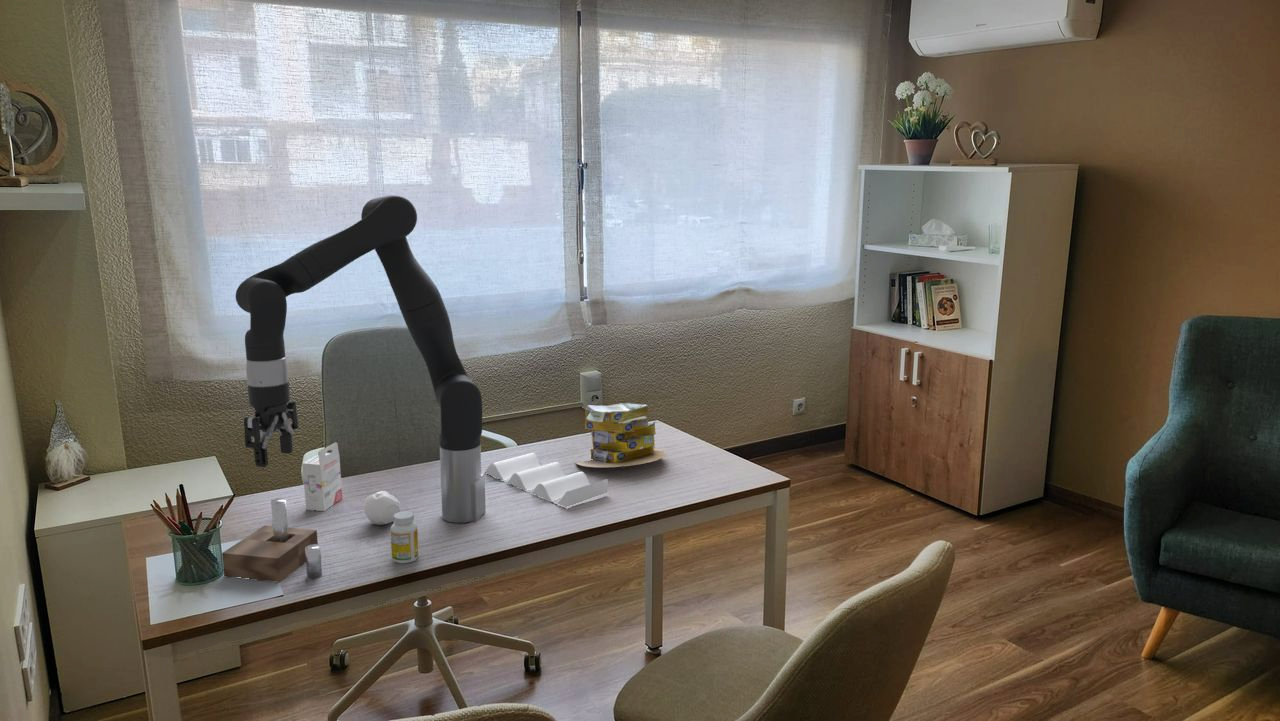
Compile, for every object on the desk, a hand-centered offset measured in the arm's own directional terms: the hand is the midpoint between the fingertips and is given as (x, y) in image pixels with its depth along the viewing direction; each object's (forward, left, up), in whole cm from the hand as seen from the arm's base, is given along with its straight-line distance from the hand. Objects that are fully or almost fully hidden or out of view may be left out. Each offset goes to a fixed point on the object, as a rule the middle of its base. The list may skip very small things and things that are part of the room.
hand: (274, 459), depth 174 cm
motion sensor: (-11, -22, -22) cm, 33 cm away
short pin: (-10, +5, -22) cm, 24 cm away
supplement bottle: (-24, -6, -22) cm, 33 cm away
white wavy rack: (-39, -54, -23) cm, 71 cm away
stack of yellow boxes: (-55, -75, -22) cm, 96 cm away
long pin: (0, 0, -22) cm, 22 cm away
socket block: (+1, +2, -22) cm, 22 cm away
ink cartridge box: (+8, -30, -22) cm, 38 cm away
